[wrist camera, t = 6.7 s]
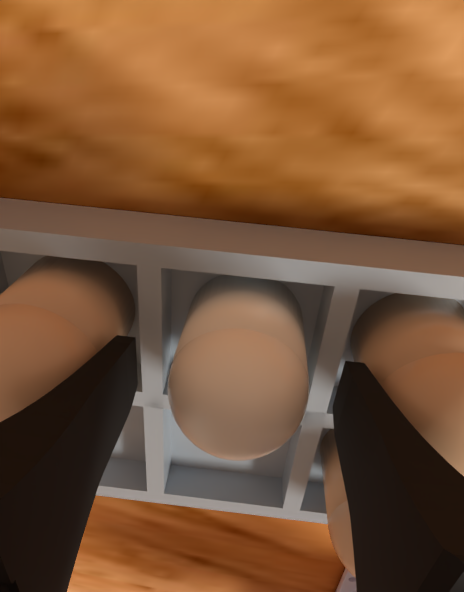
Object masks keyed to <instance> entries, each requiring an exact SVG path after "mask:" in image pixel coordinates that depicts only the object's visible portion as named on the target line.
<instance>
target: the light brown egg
mask: <svg viewBox="0 0 464 592" xmlns="http://www.w3.org/2000/svg"><path fill="white" fill-rule="evenodd" d="M168 399H169V405H170V409H171V412H172V414H173V417H174V419H175V422H176V423H177V425H178V427H179V428H180V430H181V431H182V433H183V434H184V435H185V436H186V437H187V438H188V439H189V440H190V441H191V442H192V443H193V444H194V445H195V446H196V447H198V448H199V449H201V450H202V451H204V452H206V453H208V454H210V455H212V456H215V457H217V458H221V459H225V460H232V461H245V460H252V459H256V458H260V457H263V456H265V455H268V454H270V453H271V452H273V451H275V450H277V449H278V448H279V447H281V446H282V445H283V444H284V443H286V442H287V441H288V440H289V439H290V438H291V437H292V435H293V434H294V433H295V432H296V430H297V428H298V427H299V425H300V423H301V422H302V420H303V417H304V414H305V412H306V409H307V404H308V399H309V376H308V366H307V356H306V346H305V337H304V327H303V317H302V311H301V308H300V305H299V303H298V301H297V299H296V297H295V296H294V294H293V293H292V292H291V291H290V290H289V289H288V288H287V287H286V286H285V285H284V284H282V283H281V282H279V281H278V280H270V279H261V278H251V277H242V276H233V275H223V274H222V275H220V276H217V277H215V278H213V279H212V280H210V281H208V282H207V283H206V284H205V285H203V286H202V287H201V288H200V289H199V290H198V292H197V293H196V295H195V296H194V298H193V300H192V302H191V305H190V308H189V312H188V315H187V318H186V321H185V324H184V327H183V330H182V333H181V336H180V339H179V343H178V346H177V349H176V352H175V355H174V358H173V361H172V364H171V368H170V372H169V376H168Z"/></svg>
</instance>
